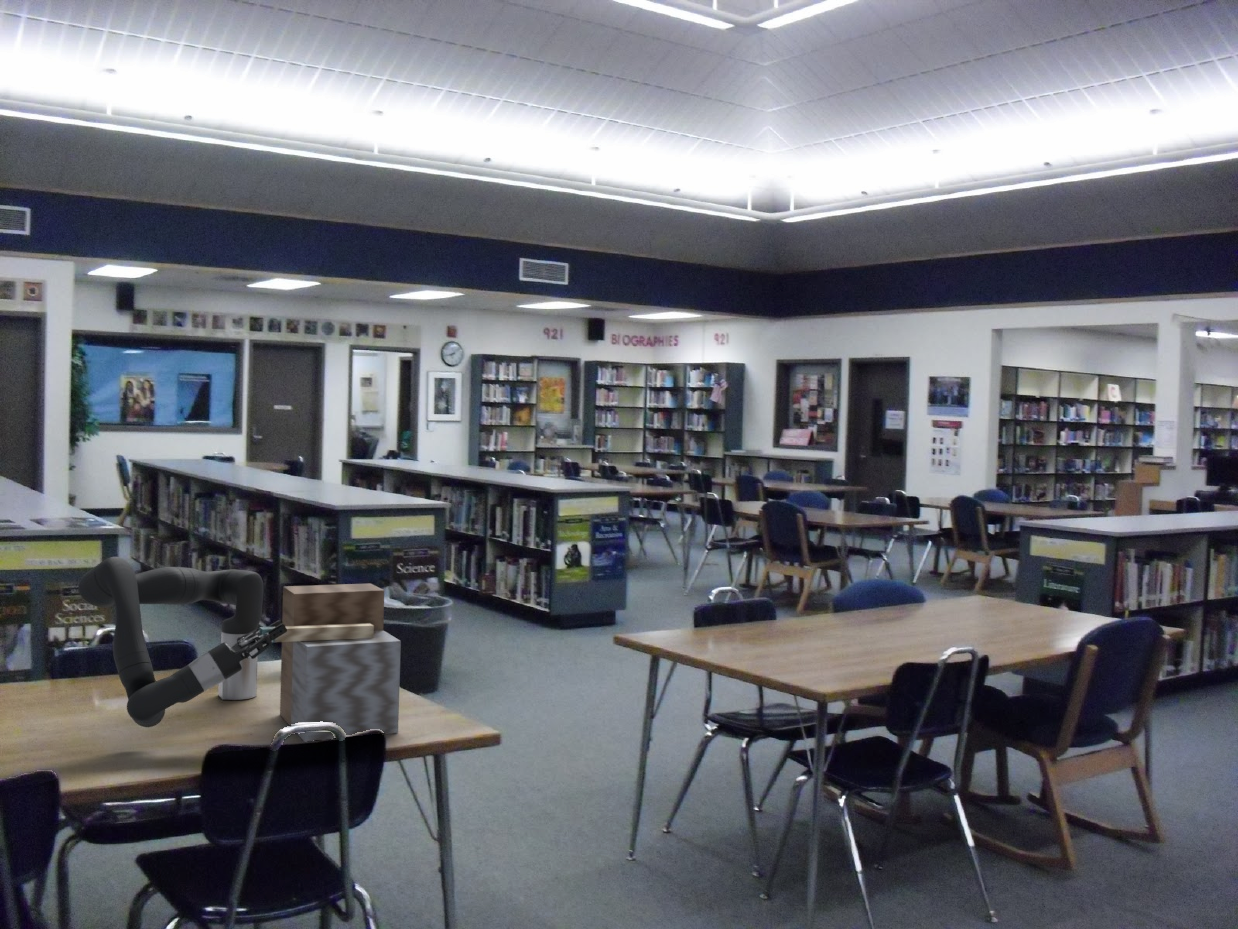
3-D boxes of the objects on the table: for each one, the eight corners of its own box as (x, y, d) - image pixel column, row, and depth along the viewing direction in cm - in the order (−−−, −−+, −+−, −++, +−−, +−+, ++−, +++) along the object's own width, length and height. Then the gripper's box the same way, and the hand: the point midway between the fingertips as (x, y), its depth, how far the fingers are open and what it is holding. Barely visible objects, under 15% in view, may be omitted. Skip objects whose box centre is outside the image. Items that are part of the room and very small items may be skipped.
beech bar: (261, 643, 262) (262, 629, 262) (259, 640, 265) (259, 627, 264) (373, 638, 274) (373, 625, 274) (369, 635, 277) (370, 623, 277)
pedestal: (304, 742, 262) (308, 603, 261) (279, 714, 285) (283, 586, 284) (398, 732, 273) (402, 599, 272) (366, 706, 296) (370, 583, 294)
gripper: (211, 659, 252) (282, 617, 258) (201, 646, 264) (269, 606, 271) (229, 687, 254) (298, 644, 260) (218, 673, 266) (284, 633, 273)
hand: (283, 625), depth 266 cm, fingers open, 3 cm apart
